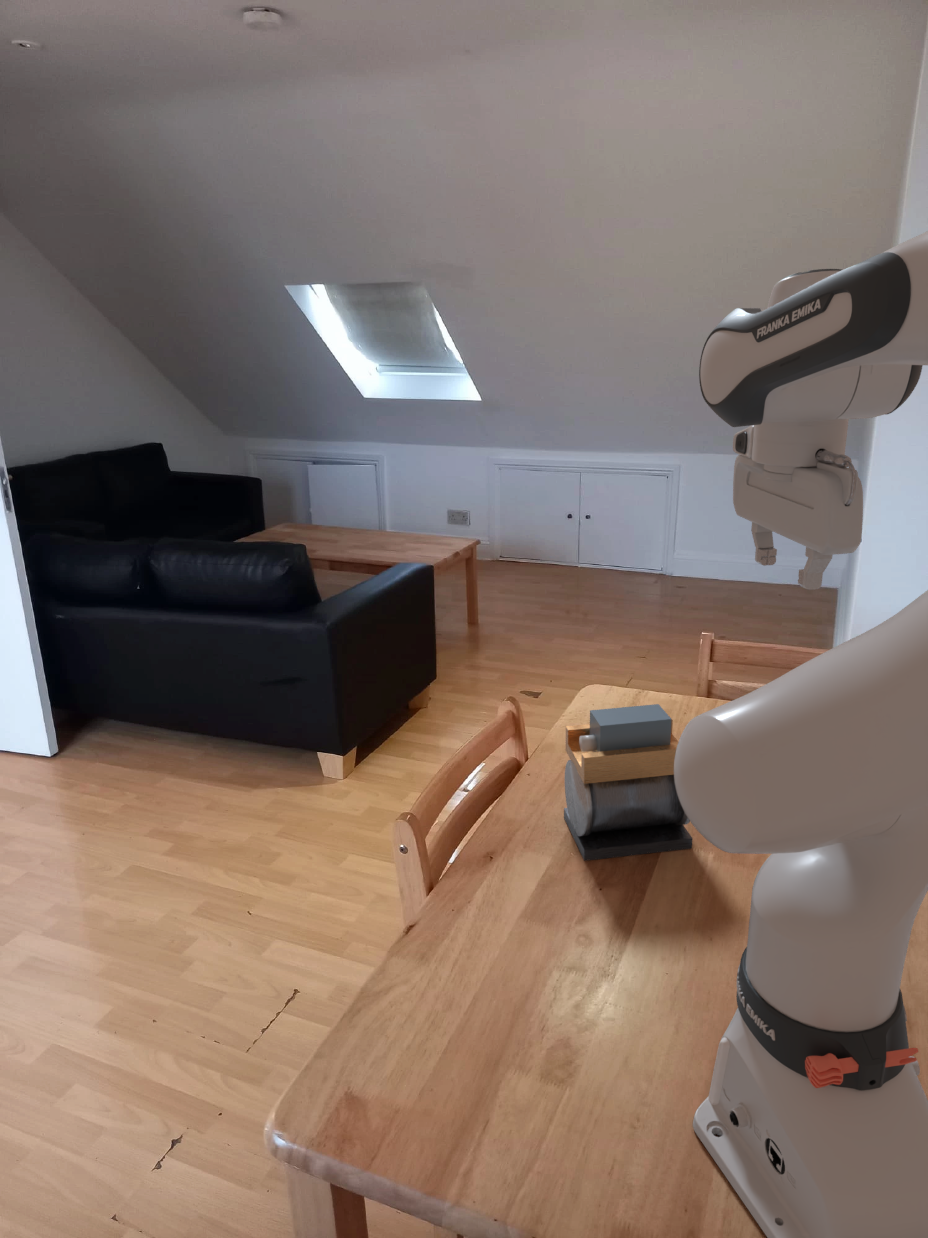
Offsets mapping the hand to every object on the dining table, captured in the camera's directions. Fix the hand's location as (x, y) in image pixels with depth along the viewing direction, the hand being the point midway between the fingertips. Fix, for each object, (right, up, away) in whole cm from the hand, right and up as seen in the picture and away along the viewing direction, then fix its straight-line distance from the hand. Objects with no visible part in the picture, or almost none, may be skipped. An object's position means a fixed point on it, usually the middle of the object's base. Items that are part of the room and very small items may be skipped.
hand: (786, 575), depth 91 cm
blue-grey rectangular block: (-14, -21, +17) cm, 30 cm away
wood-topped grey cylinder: (-13, -33, +21) cm, 41 cm away
